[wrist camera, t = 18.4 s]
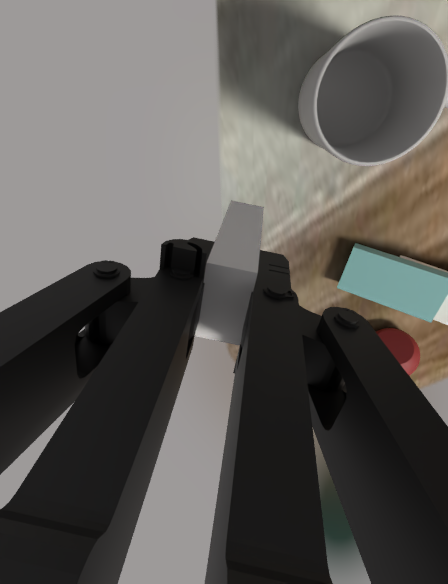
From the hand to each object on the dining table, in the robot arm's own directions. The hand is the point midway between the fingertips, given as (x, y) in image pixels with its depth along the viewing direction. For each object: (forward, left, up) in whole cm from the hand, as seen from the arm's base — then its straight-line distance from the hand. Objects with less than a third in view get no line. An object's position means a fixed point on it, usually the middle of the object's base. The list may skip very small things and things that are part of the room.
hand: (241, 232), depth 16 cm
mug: (-7, +8, -22) cm, 25 cm away
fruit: (+18, +22, -22) cm, 36 cm away
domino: (+8, +12, -21) cm, 25 cm away
